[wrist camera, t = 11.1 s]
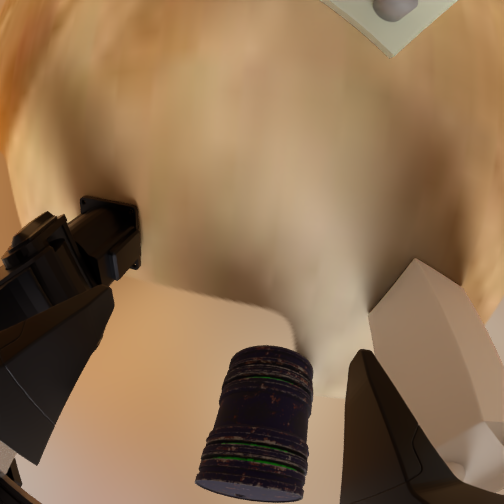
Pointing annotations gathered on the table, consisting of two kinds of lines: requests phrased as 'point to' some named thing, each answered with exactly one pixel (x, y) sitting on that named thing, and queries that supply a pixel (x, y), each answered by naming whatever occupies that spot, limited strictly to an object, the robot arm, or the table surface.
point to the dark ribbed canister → (260, 428)
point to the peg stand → (390, 19)
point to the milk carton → (444, 371)
